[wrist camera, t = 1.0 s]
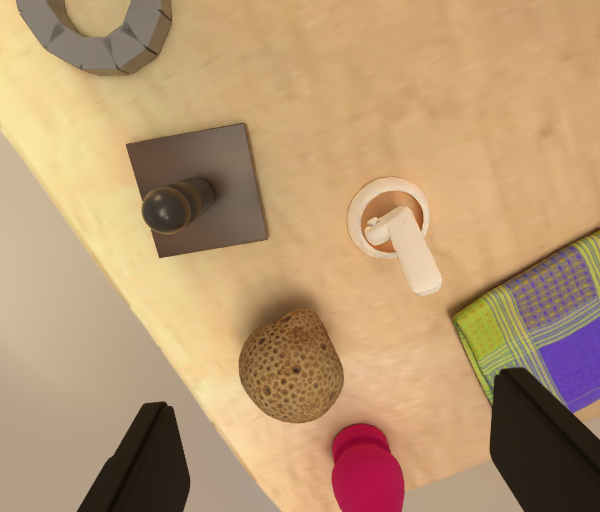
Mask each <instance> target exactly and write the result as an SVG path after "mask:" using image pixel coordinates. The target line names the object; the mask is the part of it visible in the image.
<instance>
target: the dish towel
mask: <svg viewBox="0 0 600 512" xmlns="http://www.w3.org/2000/svg"><path fill="white" fill-rule="evenodd" d="M452 319H453V324H454V325H455V326H456V329H457V332H458V334H459V337H460V340H461V342H462V344H463V347H464V349H465V351H466V353H467V356H468V358H469V360H470V362H471V364H472V367H473V369H474V371H475V373H476V375H477V377H478V379H479V382H480V384H481V386H482V388H483V390H484V392H485V394H486V396H487V398H488V399H489V401H490V403H491V405H492V403H493V388H494V377H495V375H498V374H499V372H500V370H501V369H505V368H515V367H524V368H525V369H527V370H528V371H529V372H530V373H531V374H532V375H533V376H534V377H535V378H536V379H537V380H538V381H539V382H540V383H541V384H542V385H543V386H544V387H545V388H547V389H548V390H549V391H550V392H551V393H552V394H553V395H554V396H555V397H556V398H557V399H558V400H559V401H560V402H561V403H562V404H563V405H564V406H565V407H566V408H567V409H568V410H569V411H570V412H571V413H572V414H573V413H574V412H576V411H578V410H580V409H582V408H584V407H586V406H588V405H590V404H592V403H593V402H595V401H597V400H598V399H600V230H599V231H597V232H595V233H594V234H592V235H589V236H587V237H584V238H582V239H580V240H579V241H577V242H575V243H573V244H571V245H569V246H568V247H566V248H564V249H561V250H560V251H558V252H557V253H555V254H552V255H551V256H550V257H548V258H547V259H544V260H543V261H541V262H539V263H538V264H536V265H534V266H532V267H531V268H529V269H528V270H526V271H524V272H523V273H520V274H519V275H517V276H515V277H514V278H512V279H510V280H508V281H507V282H505V283H503V284H501V285H500V286H498V287H496V288H494V289H493V290H491V291H489V292H487V293H486V294H484V295H483V296H481V297H480V298H479V299H477V300H476V301H474V302H473V303H472V304H470V305H469V306H467V307H466V308H465V309H463V310H462V311H460V312H458V313H457V314H456V315H454V316H453V318H452Z"/></svg>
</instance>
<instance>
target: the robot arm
mask: <svg viewBox="0 0 600 512" xmlns="http://www.w3.org/2000/svg"><path fill="white" fill-rule="evenodd" d="M490 455H491V458H492V461H493V463H494V464H495V466H496V468H497V469H498V471H499V472H500V474H501V475H502V477H503V479H504V480H505V482H506V483H507V485H508V487H509V488H510V490H511V491H512V493H513V494H514V496H515V498H516V499H517V501H518V502H519V504H520V506H521V507H522V509H523V510H524V512H600V440H599V439H598V438H597V437H596V436H595V435H594V434H593V433H592V432H591V431H590V430H589V429H588V428H587V427H586V426H585V425H584V424H583V423H582V422H581V421H580V420H579V419H578V418H577V417H576V416H575V415H574V414H572V413H571V412H570V411H569V410H568V409H567V408H566V407H565V406H564V405H563V404H562V403H561V402H560V401H559V400H558V399H557V398H556V397H555V396H554V395H553V394H552V393H551V392H550V391H549V390H548V389H547V388H545V387H544V386H543V385H542V384H541V383H540V382H539V381H538V380H537V379H536V378H535V377H534V376H533V375H532V374H531V373H530V372H529V371H528V370H527V369H525V368H524V367H515V368H505V369H501V370H500V372H499V374H498V375H495V377H494V388H493V403H492V419H491V434H490ZM189 489H190V476H189V471H188V467H187V463H186V459H185V455H184V450H183V446H182V442H181V438H180V434H179V430H178V426H177V421H176V418H175V413H174V409H173V407H172V406H167V404H166V402H154V403H145V404H143V405H142V407H141V409H140V410H139V412H138V414H137V415H136V417H135V419H134V421H133V422H132V424H131V426H130V428H129V430H128V431H127V433H126V435H125V437H124V438H123V440H122V441H121V444H120V445H119V447H118V449H117V450H116V452H115V454H114V455H113V456H112V457H111V458H109V459H108V460H107V462H106V463H105V465H104V466H103V468H102V470H101V471H100V473H99V475H98V477H97V478H96V480H95V482H94V483H93V485H92V487H91V488H90V490H89V492H88V494H87V495H86V497H85V499H84V500H83V502H82V504H81V505H80V507H79V509H78V510H77V512H183V510H184V507H185V504H186V500H187V497H188V494H189Z"/></svg>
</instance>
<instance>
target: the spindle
mask: <svg viewBox="0 0 600 512" xmlns="http://www.w3.org/2000/svg"><path fill="white" fill-rule="evenodd" d="M126 147H127V150H128V154H129V157H130V161H131V164H132V167H133V171H134V174H135V177H136V181H137V184H138V188H139V191H140V194H141V198H142V201H143V203H142V216H143V219H144V221H145V222H146V224H147V225H148V226H149V227H150V228H151V232H152V235H153V238H154V242H155V245H156V248H157V252H158V255H159V258H163V257H169V256H175V255H181V254H186V253H192V252H198V251H204V250H210V249H216V248H222V247H227V246H233V245H239V244H245V243H251V242H257V241H263V240H267V239H268V236H269V234H268V229H267V224H266V219H265V214H264V209H263V204H262V199H261V194H260V189H259V184H258V179H257V174H256V169H255V164H254V159H253V154H252V149H251V144H250V139H249V134H248V129H247V124H245V123H240V124H234V125H229V126H223V127H218V128H212V129H207V130H201V131H196V132H190V133H185V134H179V135H174V136H168V137H163V138H157V139H151V140H146V141H140V142H135V143H129V144H126Z"/></svg>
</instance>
